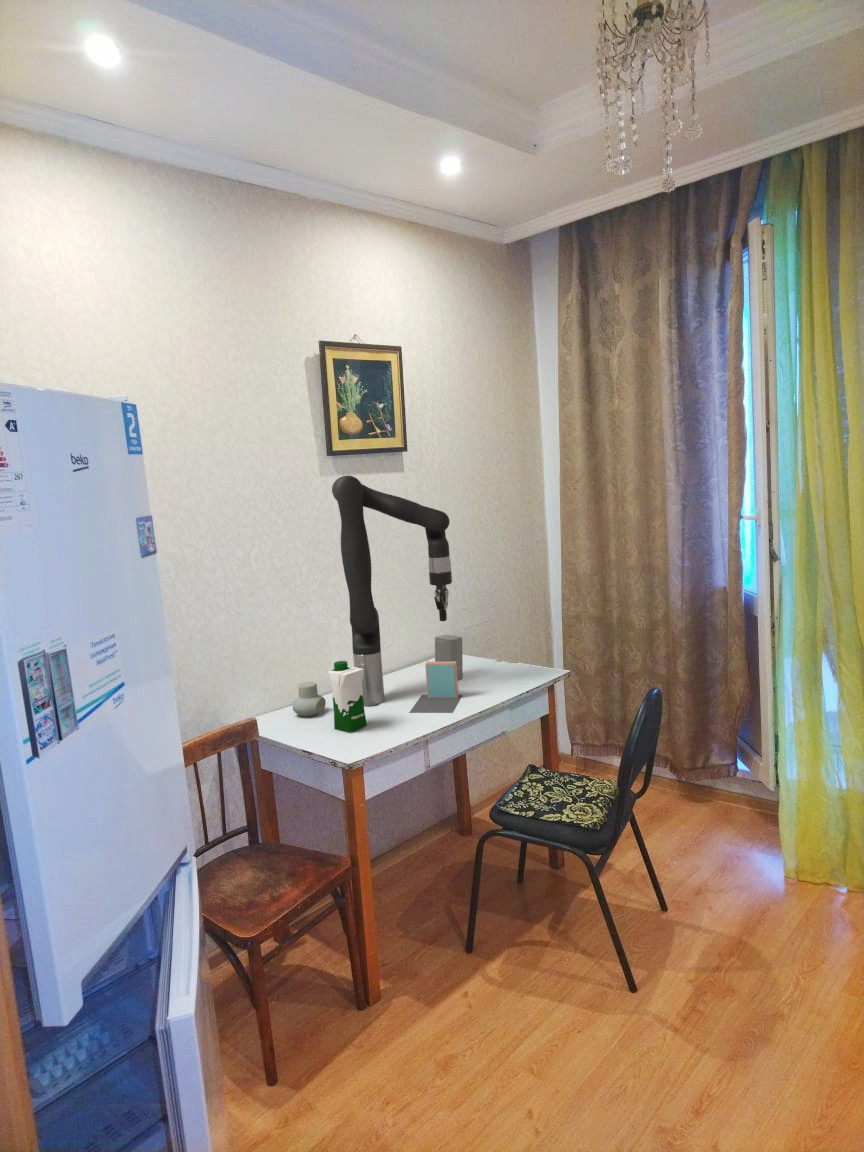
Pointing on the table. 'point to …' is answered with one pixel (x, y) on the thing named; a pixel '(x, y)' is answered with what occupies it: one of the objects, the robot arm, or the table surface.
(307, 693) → the grey rounded piece
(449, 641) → the skincare box
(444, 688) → the glazed tile
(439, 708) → the rubber mat
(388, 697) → the table surface
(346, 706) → the milk carton
